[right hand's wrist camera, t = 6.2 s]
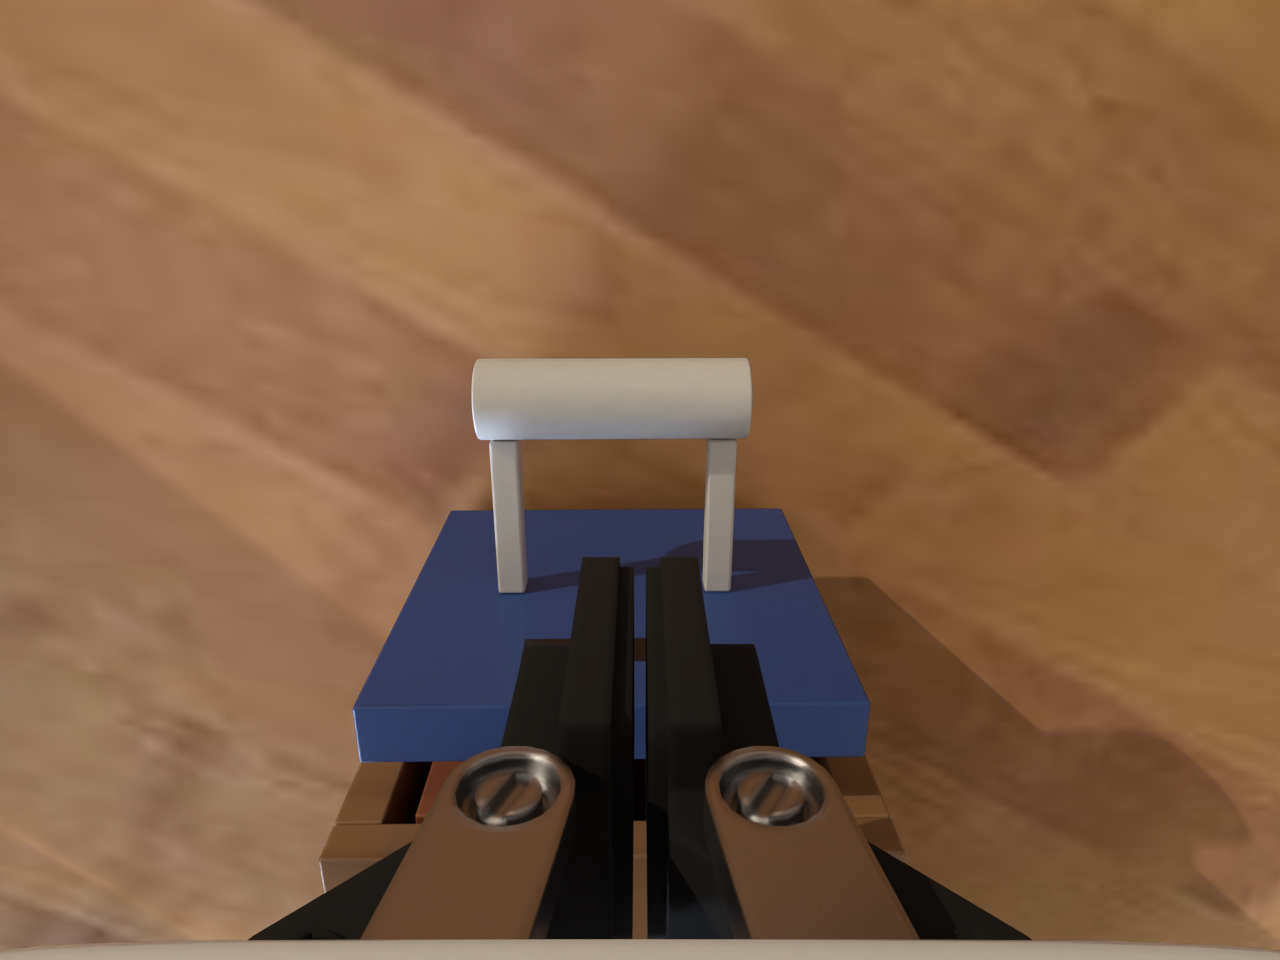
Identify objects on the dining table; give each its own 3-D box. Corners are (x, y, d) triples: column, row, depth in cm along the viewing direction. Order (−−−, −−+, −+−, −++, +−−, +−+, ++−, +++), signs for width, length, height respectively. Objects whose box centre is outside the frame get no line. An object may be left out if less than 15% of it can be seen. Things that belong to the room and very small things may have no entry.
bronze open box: (442, 574, 25) (316, 859, 15) (791, 571, 26) (907, 851, 15) (478, 980, 31) (405, 1391, 21) (763, 975, 31) (834, 1381, 21)
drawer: (434, 320, 22) (311, 421, 13) (793, 319, 22) (903, 419, 13) (485, 924, 29) (425, 1248, 20) (755, 920, 29) (811, 1239, 20)
